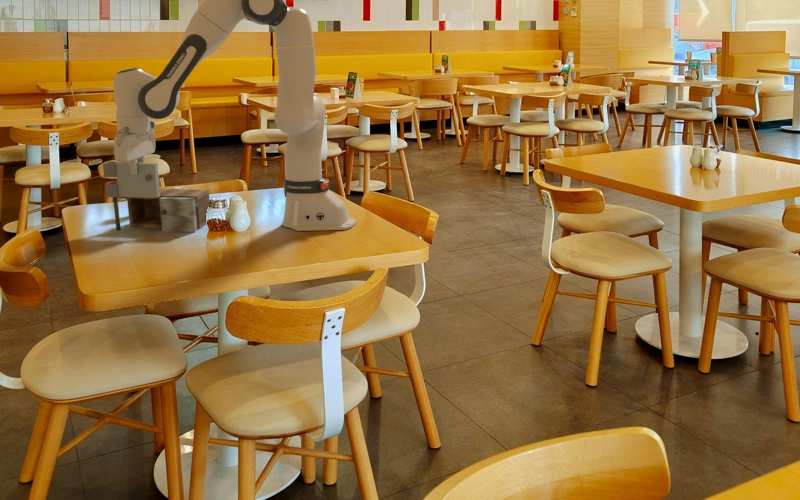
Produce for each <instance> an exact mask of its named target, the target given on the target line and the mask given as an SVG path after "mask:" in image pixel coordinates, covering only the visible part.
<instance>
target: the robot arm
mask: <svg viewBox="0 0 800 500" xmlns="http://www.w3.org/2000/svg"><path fill="white" fill-rule="evenodd" d="M243 20H247V21H250V22H252V23H254V24H257V25H259V26H260V25H261V26H266V25H267V26H270V27H271V28H272V30H273V34H274V37H275V45H276V46H275V47H276V48H275V49H276V57H277V58H276V59H277V69H278V82H277V83H278V84H277V98H276V99H277V100H276V108H275V112H274V123H275V125H276V127H277V128H278V129H279V130H280V132H282V133H284V134H286V135H287V141H286V147H285V149H284V154H283V155H284V156H283V158H284V175H285V178H284V179H283V180H284V182H283V193H284V197H285V205H284V212H283V217H282V218H283V219H282V223H281V225H282V226H283V227H285V228H290V229H292V230H293V231H296V232H302V231H304V232H305V231H306V232H307V231H311V232H312V231H342V230H344V231H345V230H349V229H351V228H353V226H355V224H356V218H355V217H354V216H349V211H348V208H347V205H346V203H345V201H344V200H342V199H341V198H340V197H338V196H337V195H336V194H334V193H333V192H331V191H330V190H329V187H330V185H329V183H330V182H329V181H330V180H329V179H325V178H324V177H323V174H322V172H323V171H322V147H323V139H324V131H325V120H326V119H325V118H326V115H327V108H326V106H325V103H324V102H323V100H321V99H320V98H319V97H318V96H316V95H315V94H314V93H315V84H316V77H317V63H316V62H317V61H316V49H315V48H316V47H315V40H314V33H313V27H312V23H311V19H310V16H309V14H308V12H307V11H305V10H304V9H303V8H300V7H295V6H288V5H287V3H286V2H285V1H284V0H203V1H202V2H201V3H200V4H199V6H198V8H197V9H196V11H195V13H194V14H193V15H192V17H191V18H190V20H189V23H188V24H187V27H186V29H185V31H184V34H183V37H182V39H181V41H180V43H179V46H178V48H177V50H176V52H175V53H174V55H173V56H172V58H171V59H170V60H169V62H168V63H167V64H166V66H165V67H164V69H163V70H162V72H161V73H160V74H159V75H158V76H153V75H151V74H150V73H148V72H146V71H144V70H143V69H141V68H139V67H134V68H129V69H123V70H120V71H118V72H116V73H115V75H114V78H113V97H114V103H115V105H116V113H115V120H116V129H117V133H116V135H115V137H114V139H113V152H114V153H113V155H114V159H115V162H128V165H129V167H130V169H131V174H138V173H139V169H138V168H137V165H136V163H145V160H146V156H148V155H151V154H153V153H155V151H156V133H155V129H156V122H155V121H154V120H152V119H155V120H161V119H165V118H168V117H169V116H170V115H171V114H172V113H173V112H174V110H176V109H177V107H178V105H179V104H180V102H181V92H180V89H181V88H182V86H183V85H184V84H185V82H186V80H187V79H188V77H189V76H190V75H191V73H192V72H193V70H194V69H195V68H196V67H197V66H198V65H199V64H200V62H202V61H203V60H204V59H206V58H208V57H209V56H211V55H212V54H214V53H215V52H217V51H218V49H219V48H220V47H221V46H222V45H223V44H224V42H226V41H227V39H228V38H229V37H230V35H231V33H232V32H233V31H234V29H235V28H236V26H237V25H238V24H240V22H241V21H243Z"/></svg>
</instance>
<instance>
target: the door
mask: <svg viewBox="0 0 800 500" xmlns="http://www.w3.org/2000/svg"><path fill="white" fill-rule="evenodd" d="M136 165H137V168H138V169H139V173H138V174H131V169H130V167H129V165H128V162H116V161H107V162H104V163H102V169H103V178H116V181H108V182H106V183H104V186H105V187H104V190H105V197H106V198H113V197H117V198H127V197H151V198H158V197H160V189H161V187H160V177H159V166H158V163H157V162H144V163H137V162H136Z"/></svg>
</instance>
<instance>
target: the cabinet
mask: <svg viewBox="0 0 800 500" xmlns="http://www.w3.org/2000/svg"><path fill="white" fill-rule="evenodd" d="M126 200H127V209H128V210H127V211H128V220H129V227H130V228H141V229H143V228H145V229H147V228H148V229H151V228H152V229H161V232H167V233H169V232H172V233H173V232H174V233H176V232H177V233H196V232H197V231H198V230H200V229H202V228H203V227H205V226H207V224H206V213H207V209H208V206H209V201H210V190H209V189H189V188H187V189H185V188H184V189H181V188H180V189H179V188H178V189H177V188H175V189H174V188H173V189H172V188H169V189H168V188H160V197H158V198H151V197H126ZM112 201H113V210H114V220H115V221H114V222H115V228H116V231H120V230H121V229H122V227H121V218H120V212H119V211H120V209H119V202H118V197H112ZM210 202H211V201H210Z"/></svg>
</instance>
